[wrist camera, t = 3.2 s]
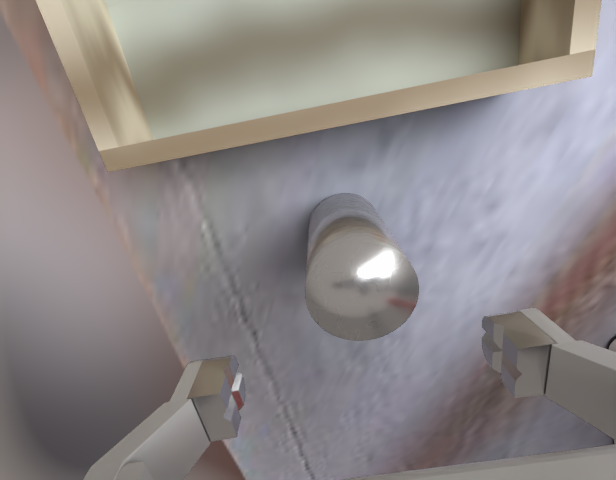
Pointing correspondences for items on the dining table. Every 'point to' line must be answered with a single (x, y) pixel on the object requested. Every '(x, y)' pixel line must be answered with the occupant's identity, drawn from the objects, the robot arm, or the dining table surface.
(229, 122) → the socket box
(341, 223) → the peg
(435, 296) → the dining table surface
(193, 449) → the robot arm
